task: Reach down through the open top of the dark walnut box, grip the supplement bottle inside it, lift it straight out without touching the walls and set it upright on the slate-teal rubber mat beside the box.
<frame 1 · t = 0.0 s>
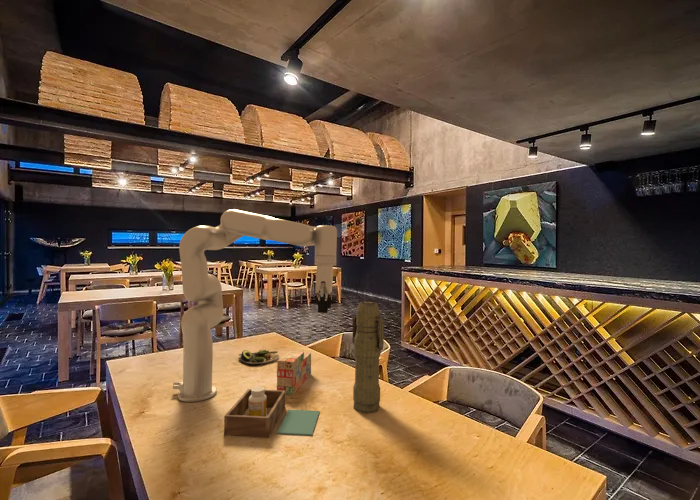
hand: (324, 310, 119), 31 cm above the table, tool pointing down, fingers open, 9 cm apart
stack of blocks: (295, 384, 133), on the table
zone mat: (299, 422, 103), on the table
thermos: (366, 407, 114), on the table
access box: (257, 420, 104), on the table
salad plate: (257, 360, 161), on the table
supplement bottle: (257, 421, 104), resting in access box
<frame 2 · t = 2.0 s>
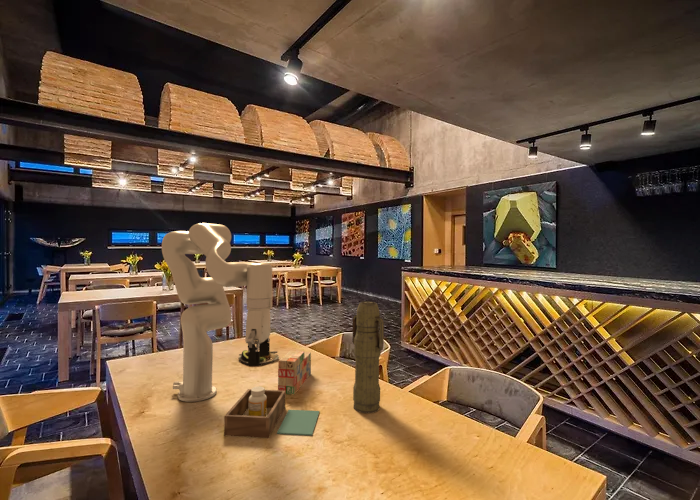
hand: (259, 360, 104), 18 cm above the table, tool pointing down, fingers open, 9 cm apart
nothing on the table moved.
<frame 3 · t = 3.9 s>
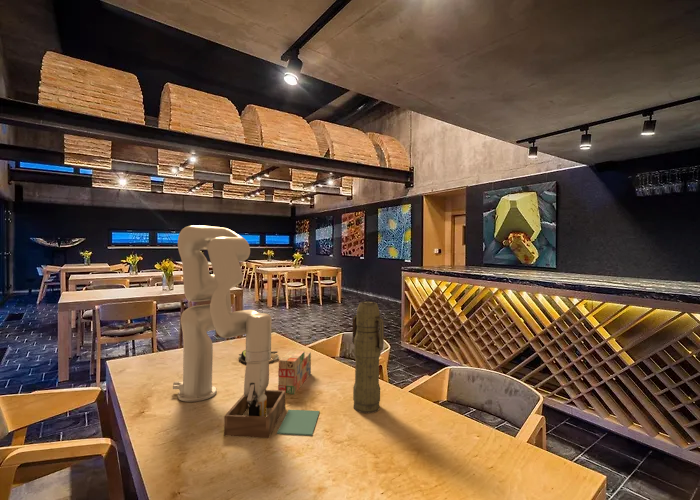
hand: (257, 413, 104), 2 cm above the table, tool pointing down, fingers closed on supplement bottle, 5 cm apart
supplement bottle: (257, 421, 104), resting in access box, touching gripper
everything else where it was.
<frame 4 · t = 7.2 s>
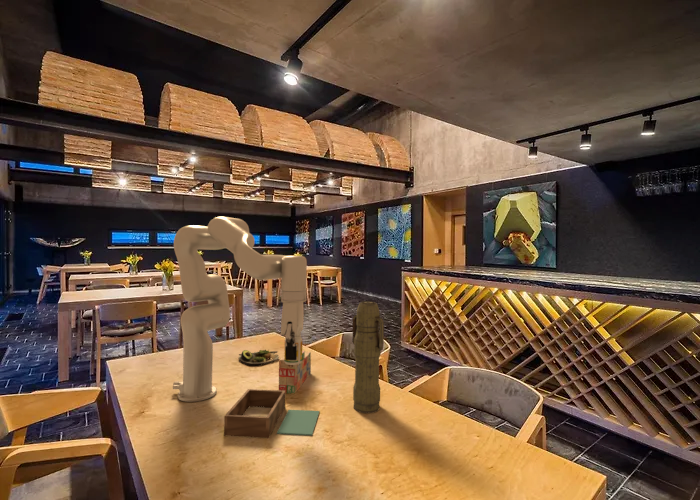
hand: (293, 355, 103), 20 cm above the table, tool pointing down, fingers closed on supplement bottle, 5 cm apart
supplement bottle: (293, 363, 103), point 18 cm above the table, touching gripper
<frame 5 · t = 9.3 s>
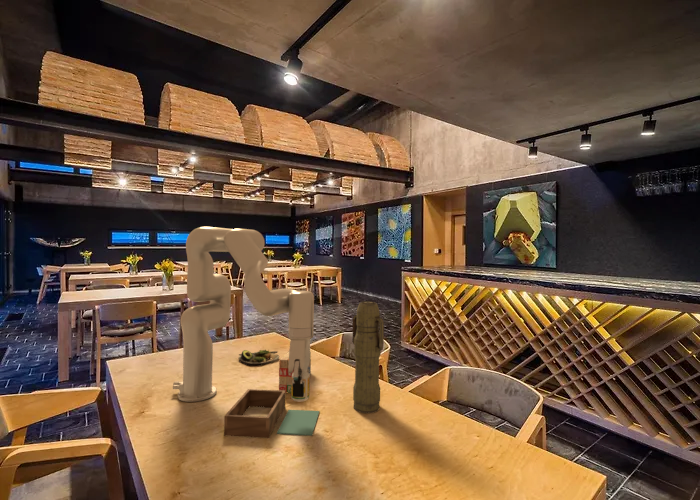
hand: (300, 391, 103), 9 cm above the table, tool pointing down, fingers closed on supplement bottle, 5 cm apart
supplement bottle: (300, 398, 103), point 7 cm above the table, touching gripper
when the fingers open (4 cm above the table, at t = 10.8 s): supplement bottle drops 1 cm, resting on zone mat.
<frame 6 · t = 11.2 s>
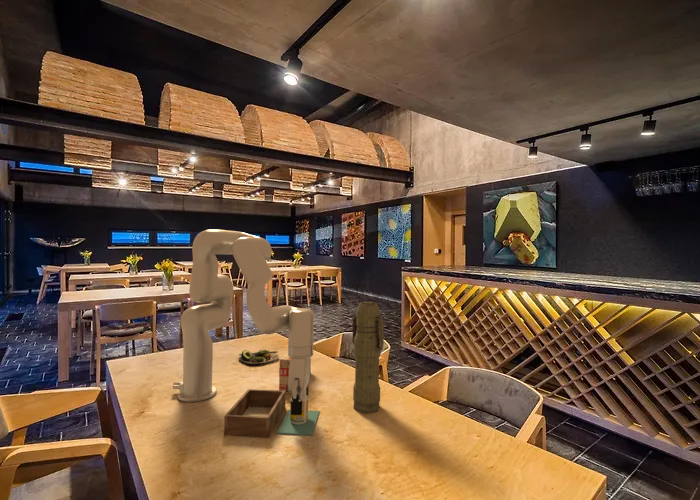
hand: (299, 406, 103), 5 cm above the table, tool pointing down, fingers open, 9 cm apart
supplement bottle: (299, 421, 103), resting on zone mat
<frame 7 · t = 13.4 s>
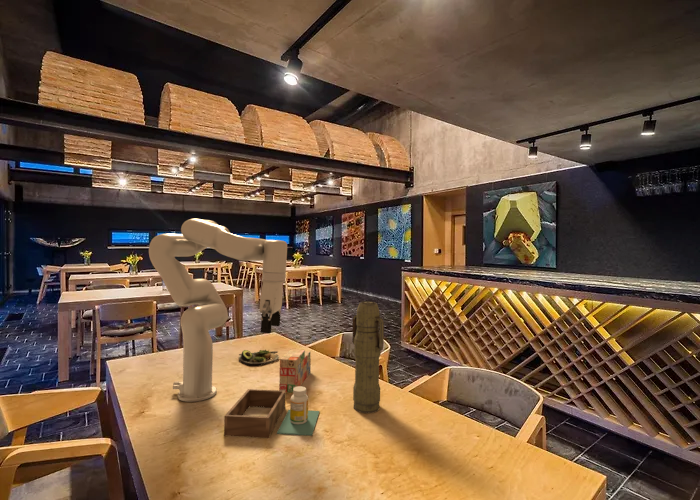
hand: (270, 329, 113), 26 cm above the table, tool pointing down, fingers open, 9 cm apart
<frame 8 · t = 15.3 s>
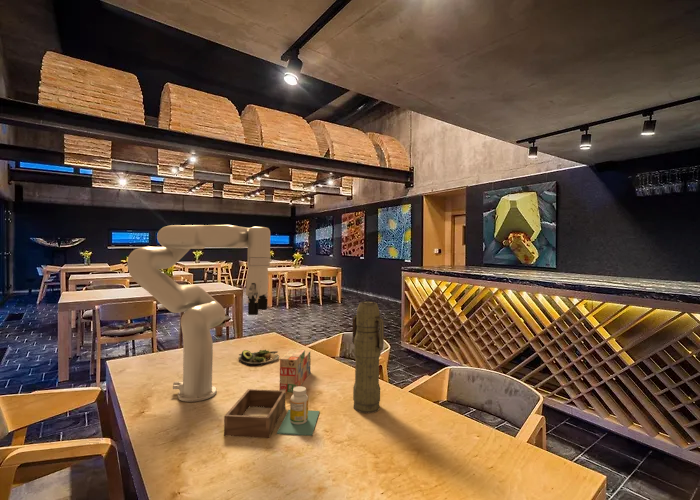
hand: (257, 312, 118), 30 cm above the table, tool pointing down, fingers open, 9 cm apart
at the end: supplement bottle inside the target area on the zone mat (0.3 cm from its centre), point 0.2 cm above the zone mat's base; supplement bottle tilted 0°; supplement bottle touching zone mat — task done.
